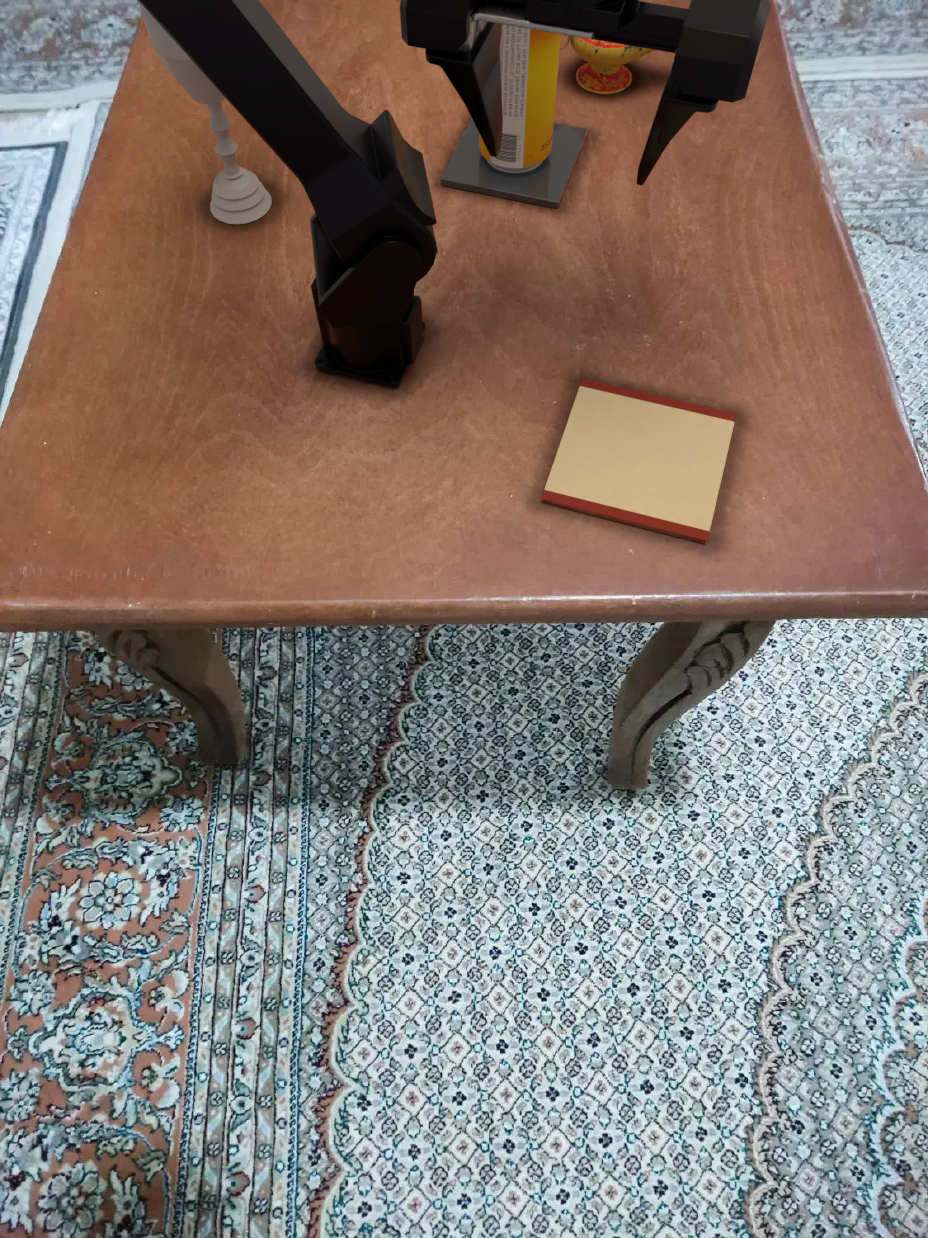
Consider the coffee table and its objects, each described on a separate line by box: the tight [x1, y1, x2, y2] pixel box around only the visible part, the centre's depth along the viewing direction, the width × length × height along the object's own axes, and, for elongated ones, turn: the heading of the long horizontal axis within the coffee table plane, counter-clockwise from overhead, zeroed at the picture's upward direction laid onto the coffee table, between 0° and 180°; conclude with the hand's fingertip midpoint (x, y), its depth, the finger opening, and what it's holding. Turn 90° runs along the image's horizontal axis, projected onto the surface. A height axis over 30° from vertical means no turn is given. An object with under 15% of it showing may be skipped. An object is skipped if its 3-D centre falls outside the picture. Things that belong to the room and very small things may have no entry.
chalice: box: [137, 0, 273, 225], centre depth 65 cm, size 7×7×18 cm
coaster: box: [440, 118, 589, 209], centre depth 75 cm, size 10×10×1 cm
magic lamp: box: [560, 7, 689, 95], centre depth 75 cm, size 7×18×11 cm, turn 85°
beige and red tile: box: [540, 378, 737, 545], centre depth 60 cm, size 11×11×1 cm
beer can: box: [479, 24, 562, 173], centre depth 68 cm, size 6×6×15 cm
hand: (567, 166), depth 54 cm, fingers open, 9 cm apart
